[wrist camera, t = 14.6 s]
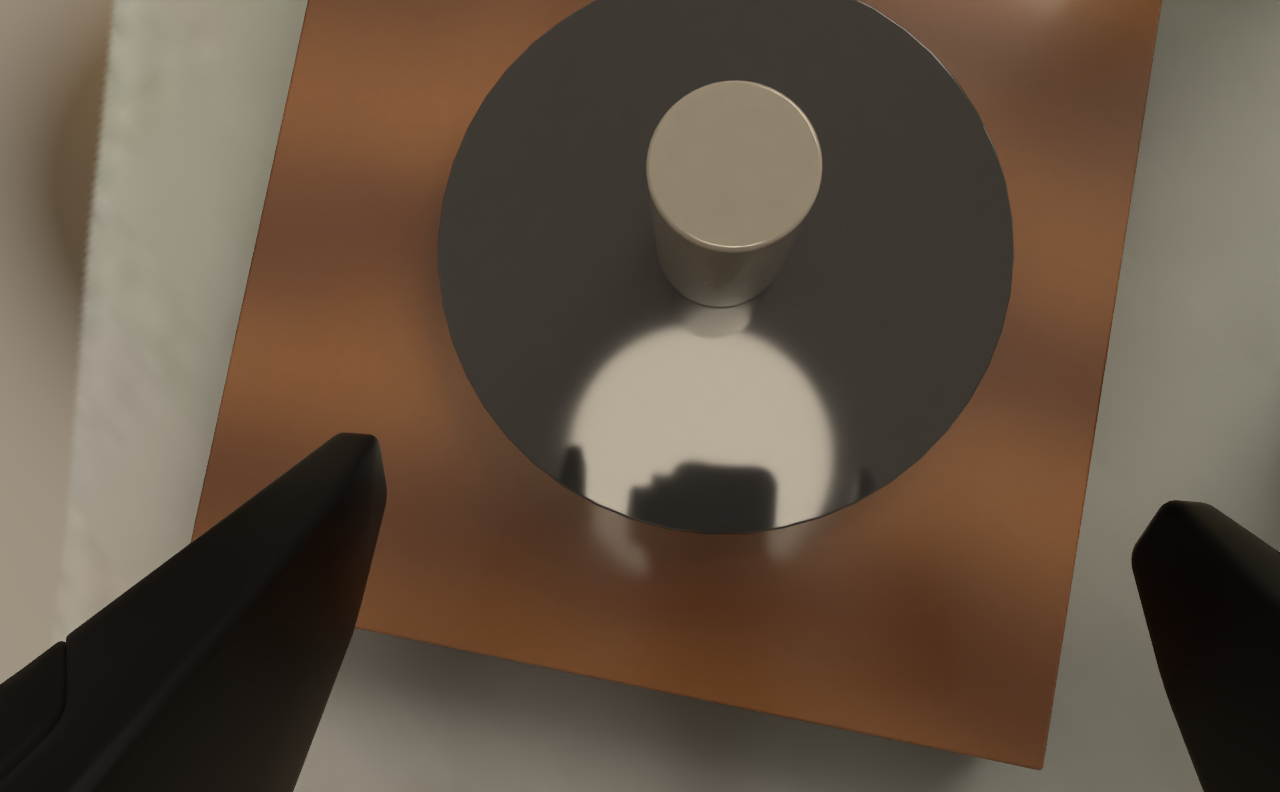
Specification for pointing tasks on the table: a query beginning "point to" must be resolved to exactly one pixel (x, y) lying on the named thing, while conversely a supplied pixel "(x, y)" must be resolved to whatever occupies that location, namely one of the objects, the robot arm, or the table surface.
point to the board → (669, 559)
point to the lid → (725, 257)
